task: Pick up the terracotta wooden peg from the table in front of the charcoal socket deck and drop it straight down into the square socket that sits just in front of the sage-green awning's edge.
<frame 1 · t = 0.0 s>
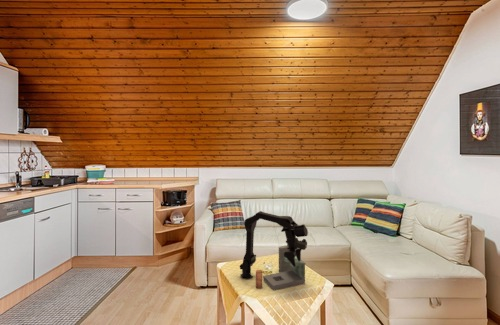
hand: (297, 263, 168), 15 cm above the table, tool pointing down, fingers open, 9 cm apart
awning: (294, 267, 180), on the socket deck, point 8 cm above the table
socket deck: (283, 282, 178), on the table
peg: (259, 287, 172), on the table
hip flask: (289, 271, 193), on the table
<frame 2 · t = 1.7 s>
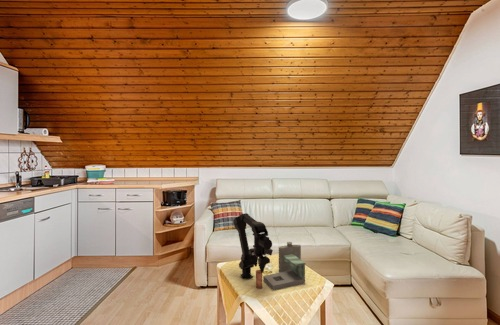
hand: (258, 269, 171), 11 cm above the table, tool pointing down, fingers open, 9 cm apart
nothing on the table moved.
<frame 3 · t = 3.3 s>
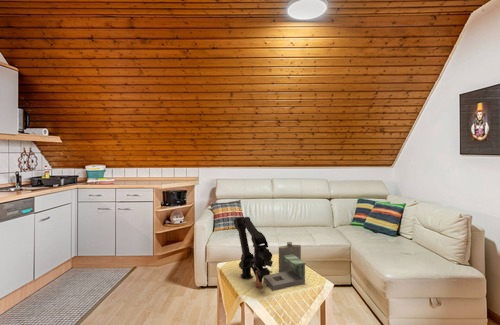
hand: (259, 280, 171), 4 cm above the table, tool pointing down, fingers closed on peg, 4 cm apart
peg: (259, 287, 172), on the table, touching gripper
everything else where it was.
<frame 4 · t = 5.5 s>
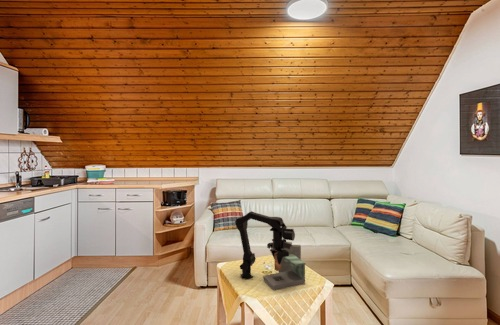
hand: (277, 262, 175), 13 cm above the table, tool pointing down, fingers closed on peg, 4 cm apart
peg: (277, 269, 176), point 9 cm above the table, touching gripper
everything else where it was.
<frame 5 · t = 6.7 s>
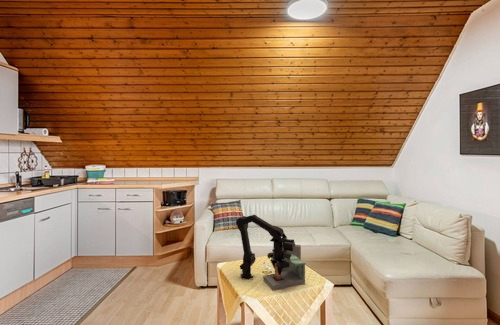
hand: (278, 273, 176), 6 cm above the table, tool pointing down, fingers closed on peg, 4 cm apart
peg: (277, 279, 176), point 2 cm above the table, touching gripper
everything else where it was.
when the fingers open (6 cm above the table, at t = 7.8 s): peg drops 2 cm, resting in socket deck.
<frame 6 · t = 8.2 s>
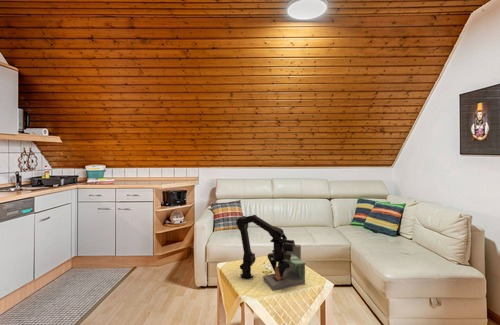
hand: (278, 273, 176), 6 cm above the table, tool pointing down, fingers open, 8 cm apart
peg: (278, 283, 176), resting in socket deck
everything else where it was.
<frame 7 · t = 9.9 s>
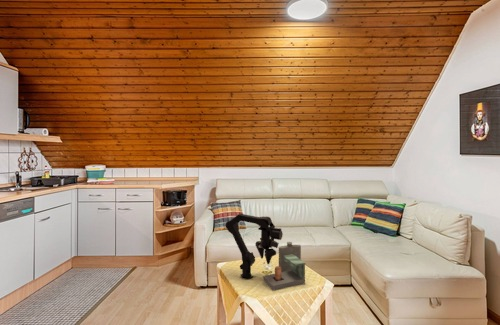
hand: (265, 261, 179), 13 cm above the table, tool pointing down, fingers open, 9 cm apart
nothing on the table moved.
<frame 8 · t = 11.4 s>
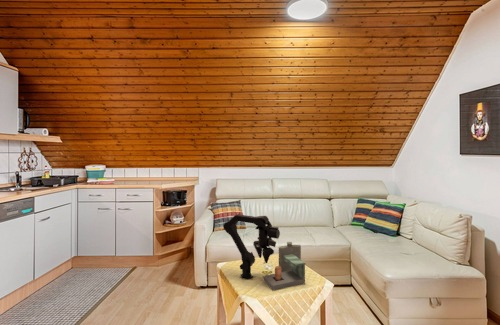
hand: (263, 260, 179), 13 cm above the table, tool pointing down, fingers open, 9 cm apart
nothing on the table moved.
at the end: peg 0.1 cm from the target spot on the socket deck, point 0.0 cm above the socket deck's base; peg tilted 1°; the gripper is holding nothing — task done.
